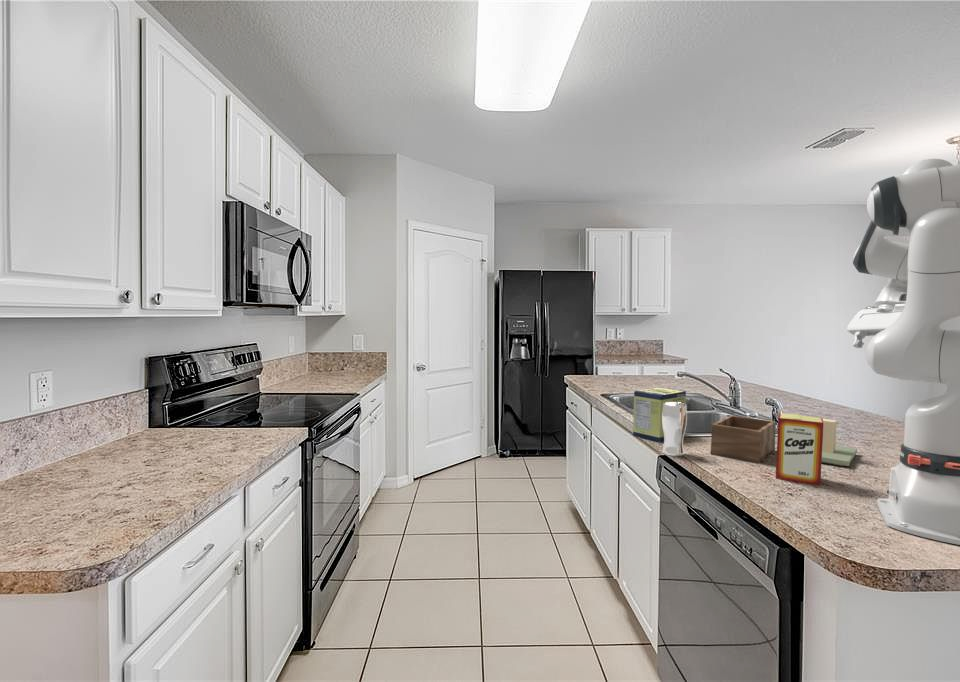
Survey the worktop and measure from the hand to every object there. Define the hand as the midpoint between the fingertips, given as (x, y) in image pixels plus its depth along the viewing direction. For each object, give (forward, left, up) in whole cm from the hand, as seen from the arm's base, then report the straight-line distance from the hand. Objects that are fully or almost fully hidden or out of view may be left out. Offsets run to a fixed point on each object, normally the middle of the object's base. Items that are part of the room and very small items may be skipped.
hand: (870, 347), depth 138 cm
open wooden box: (-9, +28, -33) cm, 45 cm away
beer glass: (-25, +43, -33) cm, 60 cm away
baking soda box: (-25, +11, -33) cm, 43 cm away
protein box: (-7, +55, -33) cm, 65 cm away
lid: (+3, +9, -33) cm, 35 cm away
